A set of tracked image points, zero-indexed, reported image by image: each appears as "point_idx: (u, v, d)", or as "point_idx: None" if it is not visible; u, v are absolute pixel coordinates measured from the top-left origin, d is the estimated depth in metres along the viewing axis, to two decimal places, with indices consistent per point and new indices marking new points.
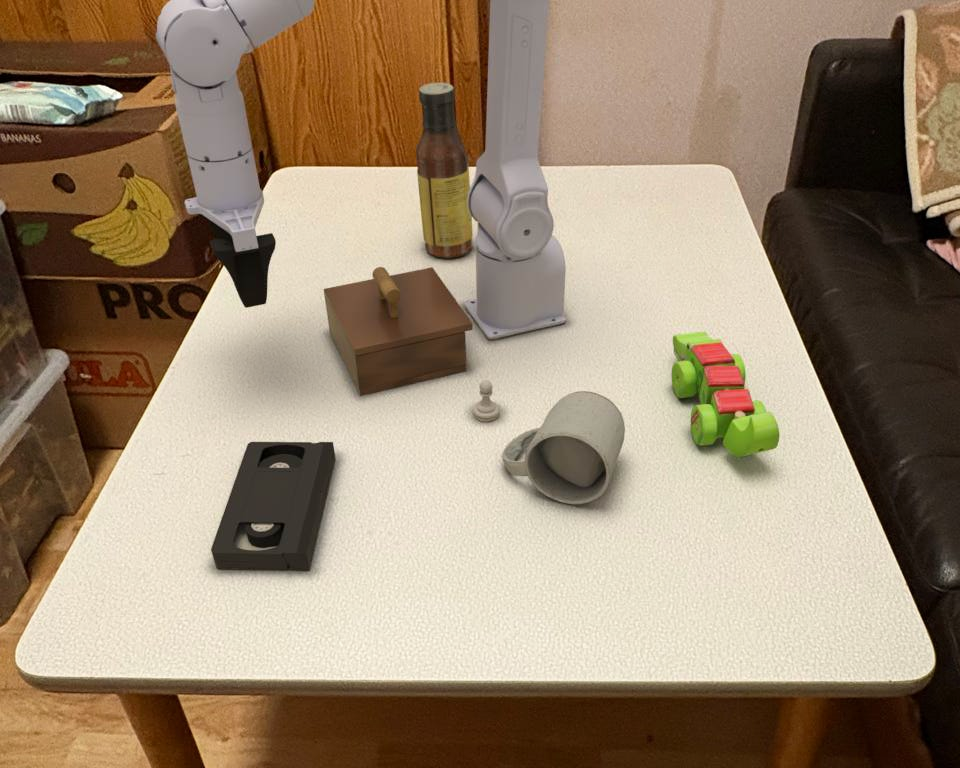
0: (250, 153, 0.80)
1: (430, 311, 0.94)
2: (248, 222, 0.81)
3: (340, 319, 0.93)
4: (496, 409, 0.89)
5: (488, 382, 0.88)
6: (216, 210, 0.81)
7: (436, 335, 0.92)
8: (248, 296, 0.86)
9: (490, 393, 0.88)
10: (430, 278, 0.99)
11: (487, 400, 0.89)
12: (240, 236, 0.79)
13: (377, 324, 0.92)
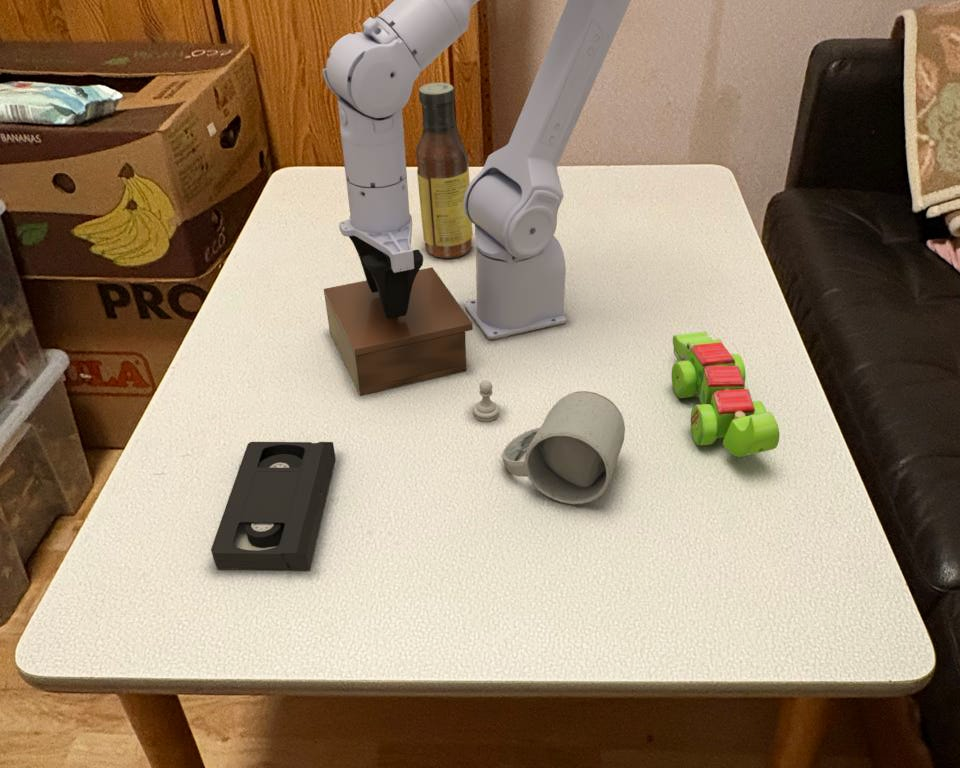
0: (406, 179, 0.85)
1: (430, 311, 0.94)
2: (403, 244, 0.85)
3: (340, 319, 0.93)
4: (496, 409, 0.89)
5: (488, 382, 0.88)
6: (372, 233, 0.86)
7: (436, 335, 0.92)
8: (391, 308, 0.91)
9: (490, 393, 0.88)
10: (430, 278, 0.99)
11: (487, 400, 0.89)
12: (399, 258, 0.84)
13: (377, 324, 0.92)
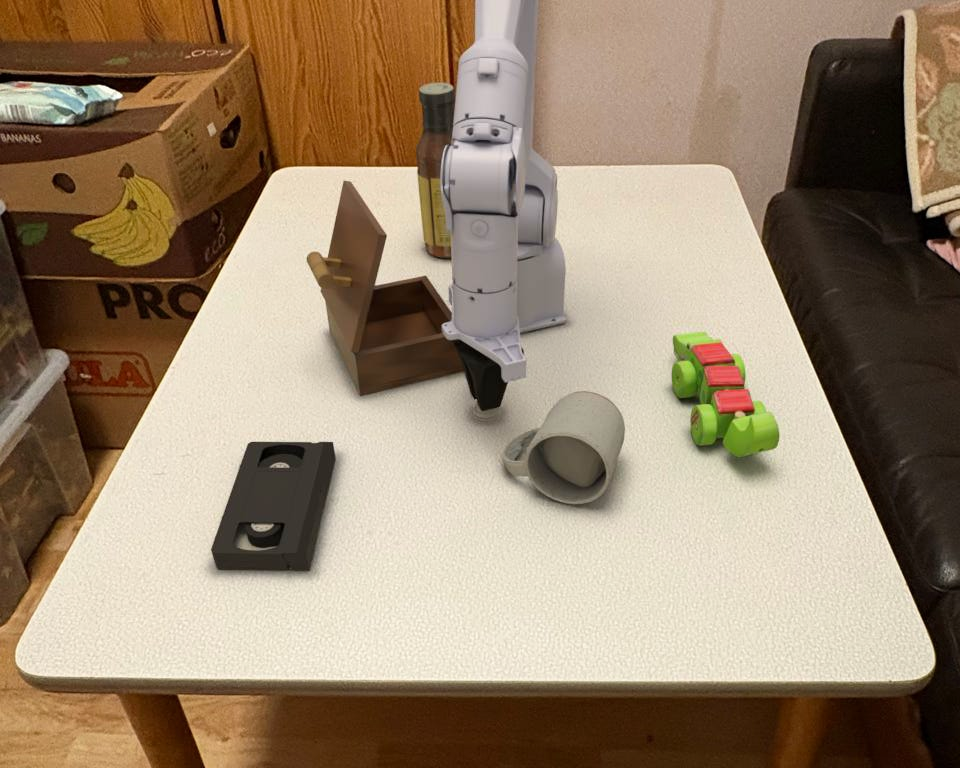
0: (516, 281, 0.80)
1: (360, 248, 0.87)
2: (513, 350, 0.80)
3: (336, 321, 0.93)
4: (496, 409, 0.89)
5: None
6: (479, 337, 0.81)
7: (374, 274, 0.85)
8: (486, 401, 0.87)
9: None
10: (347, 200, 0.90)
11: None
12: (512, 368, 0.78)
13: (348, 304, 0.90)
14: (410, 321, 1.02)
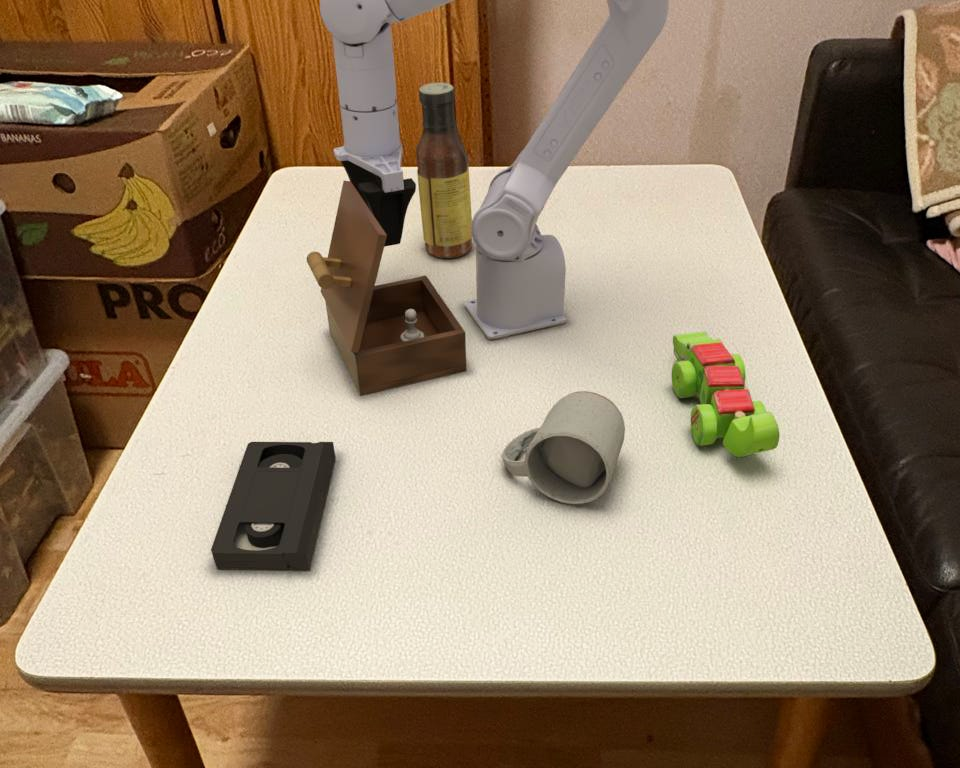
0: (396, 105, 0.91)
1: (360, 248, 0.87)
2: (394, 167, 0.91)
3: (336, 321, 0.93)
4: (421, 336, 0.98)
5: (412, 310, 0.96)
6: (364, 157, 0.92)
7: (374, 274, 0.85)
8: None
9: (414, 321, 0.97)
10: (347, 200, 0.90)
11: (412, 327, 0.97)
12: (390, 178, 0.89)
13: (348, 304, 0.90)
14: None
